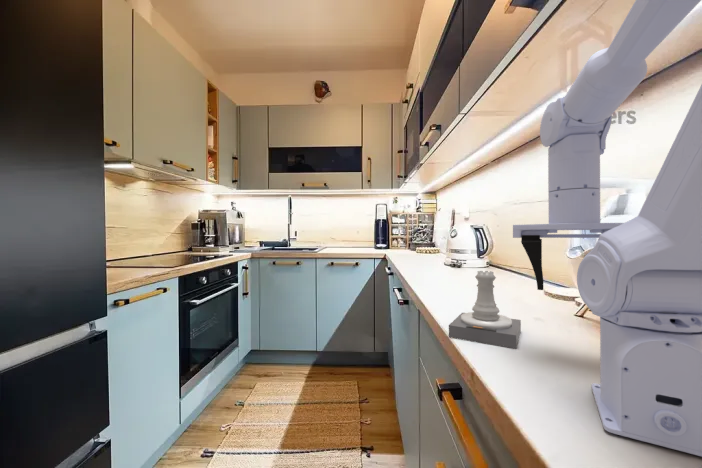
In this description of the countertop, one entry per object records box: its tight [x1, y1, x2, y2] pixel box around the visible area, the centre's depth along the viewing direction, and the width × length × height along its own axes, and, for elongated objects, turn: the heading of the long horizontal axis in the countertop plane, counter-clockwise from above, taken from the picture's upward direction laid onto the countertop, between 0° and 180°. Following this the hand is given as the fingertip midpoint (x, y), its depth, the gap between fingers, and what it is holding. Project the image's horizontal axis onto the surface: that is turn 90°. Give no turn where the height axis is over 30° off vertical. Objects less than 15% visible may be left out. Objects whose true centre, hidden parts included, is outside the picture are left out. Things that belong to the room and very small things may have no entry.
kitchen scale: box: [448, 311, 522, 350], centre depth 53 cm, size 10×10×3 cm
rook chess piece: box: [471, 270, 500, 321], centre depth 53 cm, size 4×4×8 cm
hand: (573, 291), depth 42 cm, fingers open, 7 cm apart
